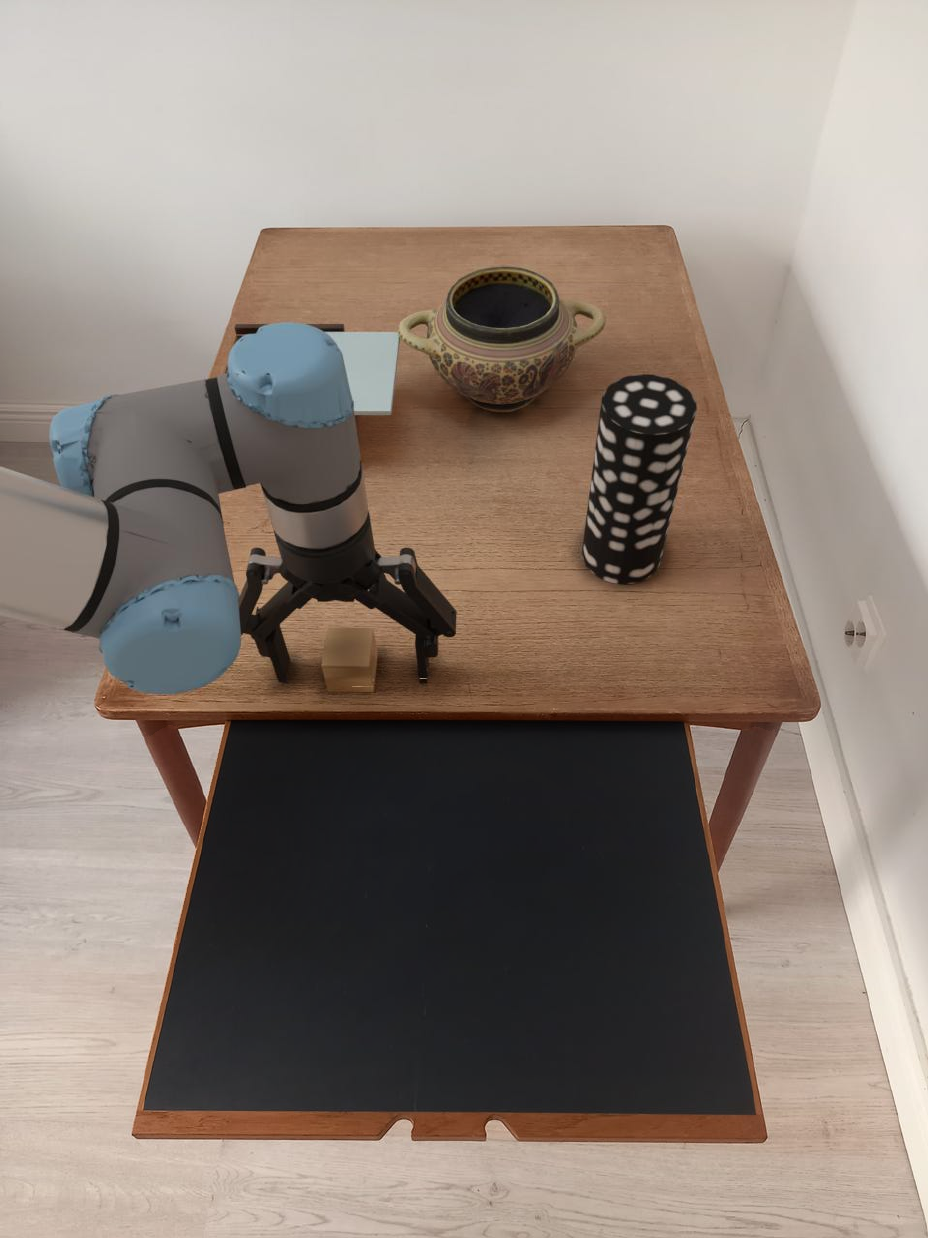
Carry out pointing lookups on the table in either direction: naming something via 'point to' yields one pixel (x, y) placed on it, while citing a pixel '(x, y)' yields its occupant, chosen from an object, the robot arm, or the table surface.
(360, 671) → the block
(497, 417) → the table surface
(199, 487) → the robot arm
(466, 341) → the ceramic bowl
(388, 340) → the pale blue square panel
